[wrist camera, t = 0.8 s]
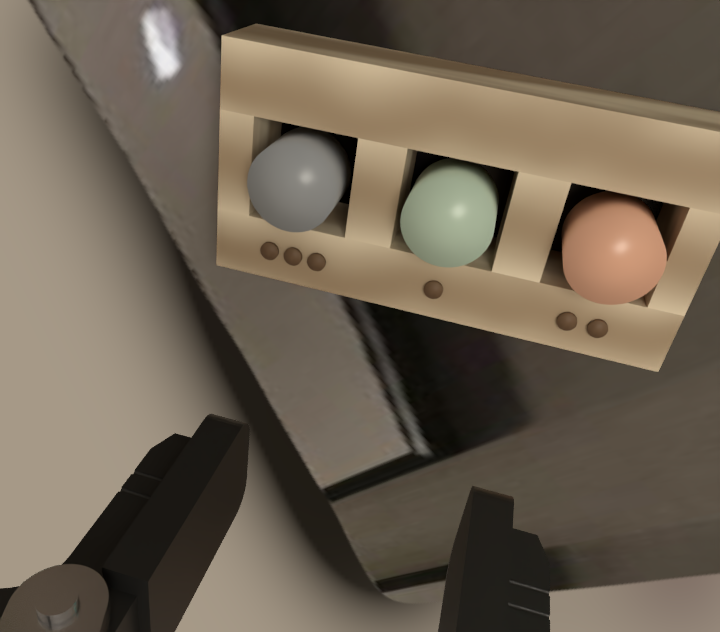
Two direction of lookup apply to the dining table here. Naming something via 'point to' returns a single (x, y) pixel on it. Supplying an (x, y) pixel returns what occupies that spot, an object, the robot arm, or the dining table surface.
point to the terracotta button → (612, 248)
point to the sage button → (450, 213)
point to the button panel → (479, 145)
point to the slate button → (299, 179)
